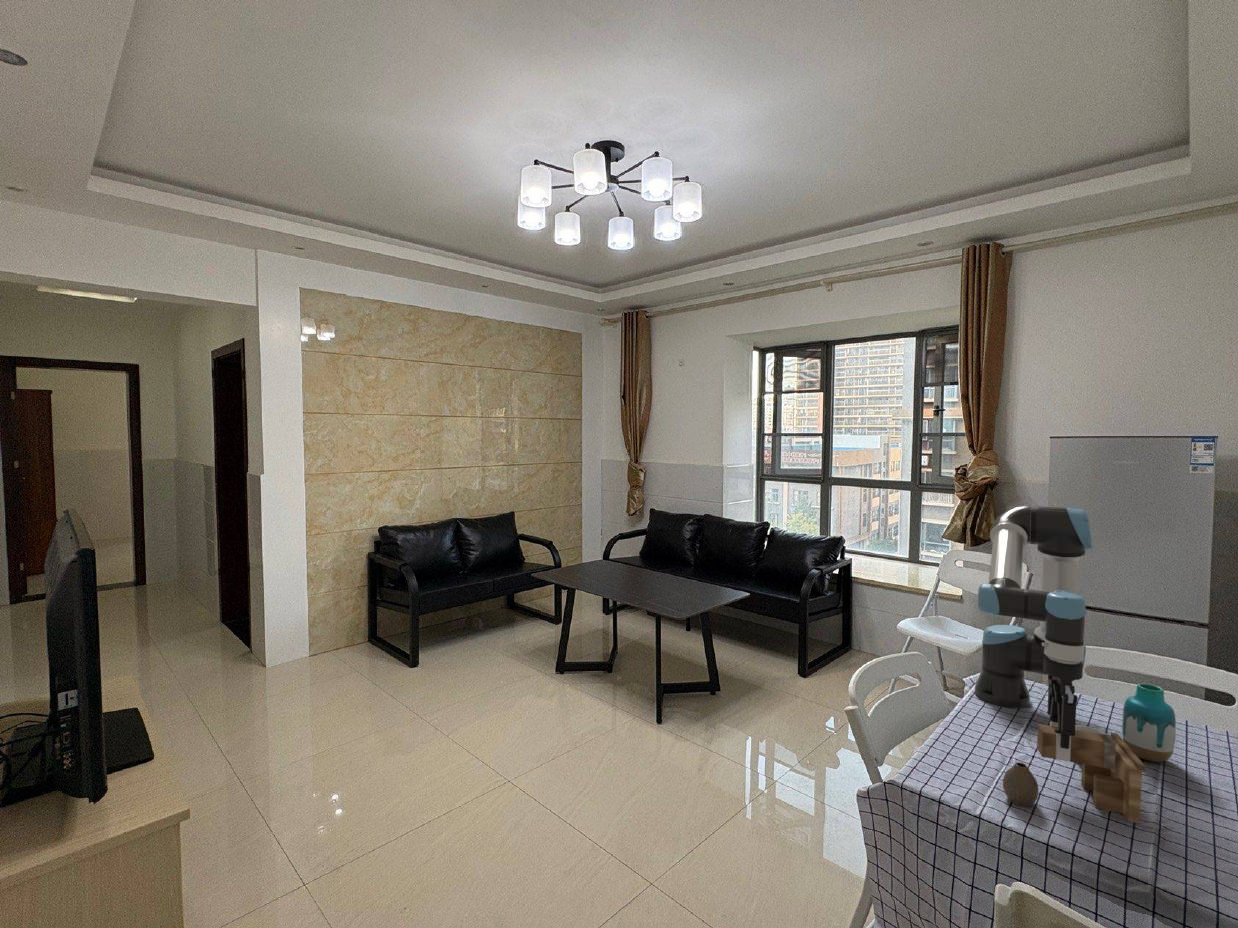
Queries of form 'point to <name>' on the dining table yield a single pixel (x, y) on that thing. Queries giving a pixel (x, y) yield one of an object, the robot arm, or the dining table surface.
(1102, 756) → the brown wooden block
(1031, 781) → the vase
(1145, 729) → the vase
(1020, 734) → the dining table surface
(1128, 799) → the headboard
